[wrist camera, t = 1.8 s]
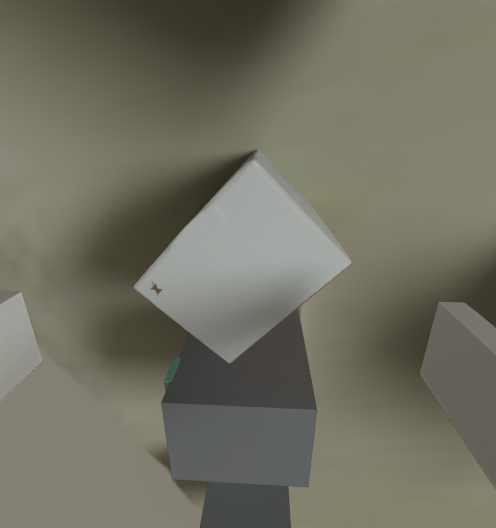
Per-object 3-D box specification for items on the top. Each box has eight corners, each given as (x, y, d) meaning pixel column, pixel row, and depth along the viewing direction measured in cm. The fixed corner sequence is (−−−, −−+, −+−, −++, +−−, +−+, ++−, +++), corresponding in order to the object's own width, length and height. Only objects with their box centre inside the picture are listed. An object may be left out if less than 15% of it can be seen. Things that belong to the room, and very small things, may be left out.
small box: (245, 268, 27) (228, 369, 15) (191, 219, 26) (126, 288, 14) (313, 204, 25) (356, 264, 13) (258, 146, 24) (249, 153, 12)
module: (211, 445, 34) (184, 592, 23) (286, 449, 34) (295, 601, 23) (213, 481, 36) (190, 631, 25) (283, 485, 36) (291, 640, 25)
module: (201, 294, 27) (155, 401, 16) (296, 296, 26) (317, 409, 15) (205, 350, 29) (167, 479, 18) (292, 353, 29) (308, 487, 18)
